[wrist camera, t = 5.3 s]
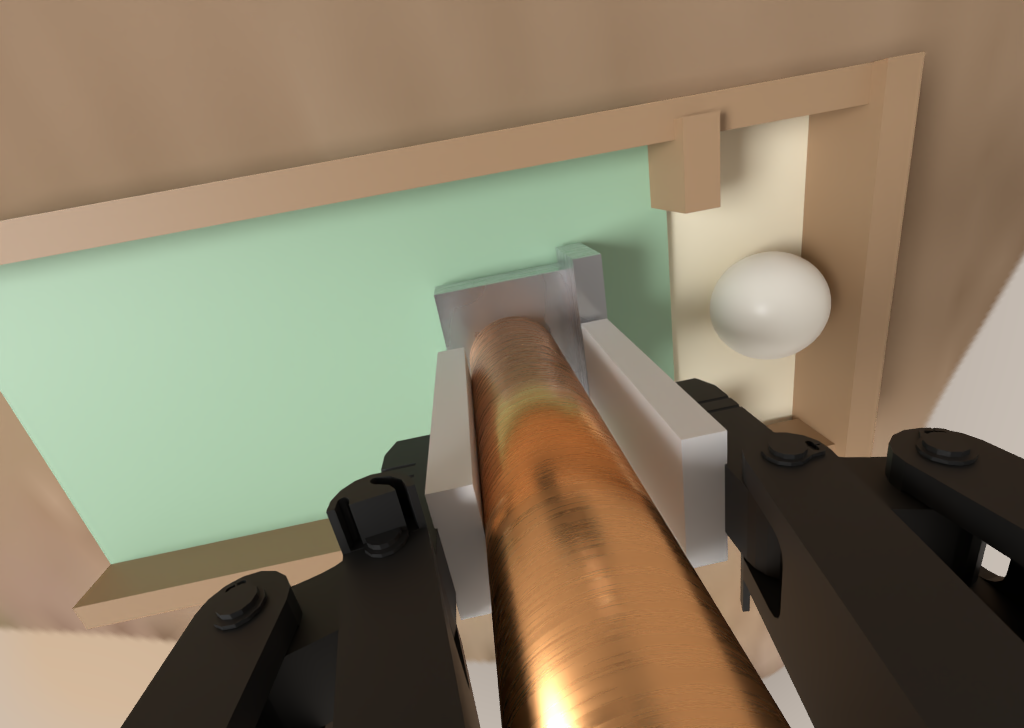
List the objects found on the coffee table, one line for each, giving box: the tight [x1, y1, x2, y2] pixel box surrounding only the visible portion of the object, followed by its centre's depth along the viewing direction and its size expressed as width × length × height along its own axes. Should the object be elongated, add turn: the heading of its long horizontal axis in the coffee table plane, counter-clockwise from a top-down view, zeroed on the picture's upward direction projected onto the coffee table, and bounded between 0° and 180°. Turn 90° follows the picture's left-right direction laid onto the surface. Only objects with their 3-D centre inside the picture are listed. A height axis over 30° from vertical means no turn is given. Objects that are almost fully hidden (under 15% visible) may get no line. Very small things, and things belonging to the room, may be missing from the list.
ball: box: [710, 251, 831, 360], centre depth 16 cm, size 4×4×4 cm
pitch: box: [0, 51, 925, 629], centre depth 16 cm, size 13×28×4 cm, turn 100°
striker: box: [434, 243, 791, 728], centre depth 10 cm, size 6×5×13 cm
